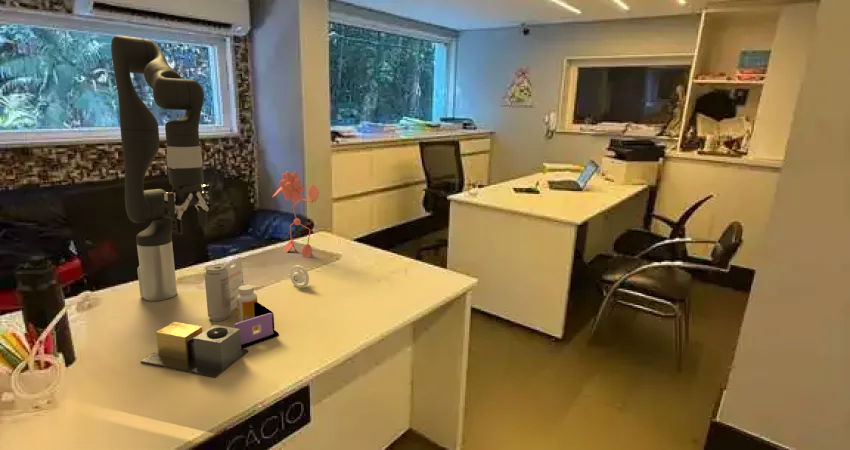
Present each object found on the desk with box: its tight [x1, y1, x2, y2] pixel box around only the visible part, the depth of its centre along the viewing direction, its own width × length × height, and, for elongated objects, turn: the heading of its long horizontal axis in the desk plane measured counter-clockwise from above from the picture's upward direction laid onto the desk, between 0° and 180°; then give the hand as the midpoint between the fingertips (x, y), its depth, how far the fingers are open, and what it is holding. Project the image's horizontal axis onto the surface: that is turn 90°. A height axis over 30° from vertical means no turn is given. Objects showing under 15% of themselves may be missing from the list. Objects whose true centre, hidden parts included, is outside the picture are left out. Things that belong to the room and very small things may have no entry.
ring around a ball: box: [289, 264, 310, 289], centre depth 154 cm, size 8×6×8 cm
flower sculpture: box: [272, 170, 320, 259], centre depth 178 cm, size 15×26×35 cm, turn 57°
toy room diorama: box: [230, 301, 280, 349], centre depth 121 cm, size 12×12×7 cm
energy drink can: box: [204, 264, 232, 322], centre depth 129 cm, size 6×6×15 cm
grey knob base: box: [140, 324, 249, 379], centre depth 109 cm, size 20×12×8 cm, turn 75°
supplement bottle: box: [236, 284, 258, 322], centre depth 129 cm, size 5×5×10 cm
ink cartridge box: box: [224, 256, 245, 312], centre depth 136 cm, size 9×5×15 cm, turn 170°
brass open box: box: [155, 321, 204, 360], centre depth 110 cm, size 8×6×6 cm
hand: (191, 229), depth 115 cm, fingers open, 8 cm apart
